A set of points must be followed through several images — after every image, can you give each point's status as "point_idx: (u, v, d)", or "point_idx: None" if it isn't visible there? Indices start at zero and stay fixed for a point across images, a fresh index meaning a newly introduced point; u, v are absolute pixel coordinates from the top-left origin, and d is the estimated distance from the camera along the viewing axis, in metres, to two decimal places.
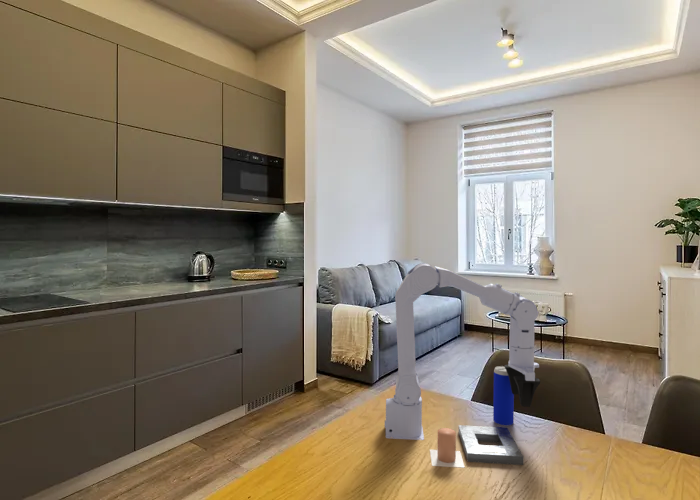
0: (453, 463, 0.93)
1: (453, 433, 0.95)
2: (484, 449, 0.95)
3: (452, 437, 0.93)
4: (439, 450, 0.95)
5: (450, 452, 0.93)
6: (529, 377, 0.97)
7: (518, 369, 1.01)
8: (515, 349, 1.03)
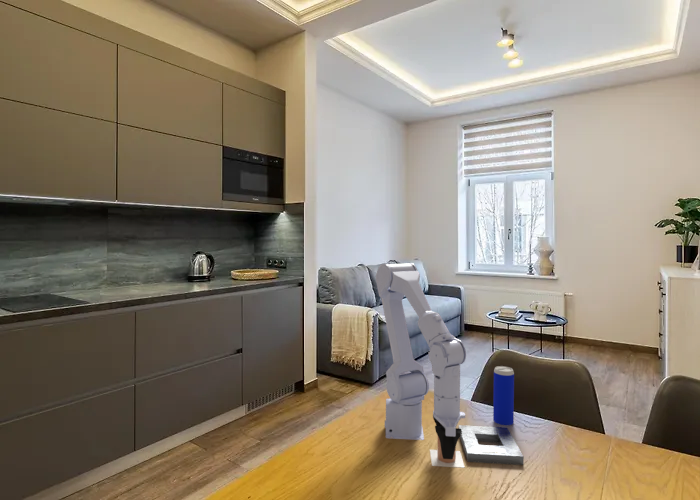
0: (453, 463, 0.93)
1: None
2: (484, 449, 0.95)
3: None
4: (439, 450, 0.95)
5: None
6: (449, 432, 0.88)
7: (440, 421, 0.91)
8: (438, 398, 0.93)
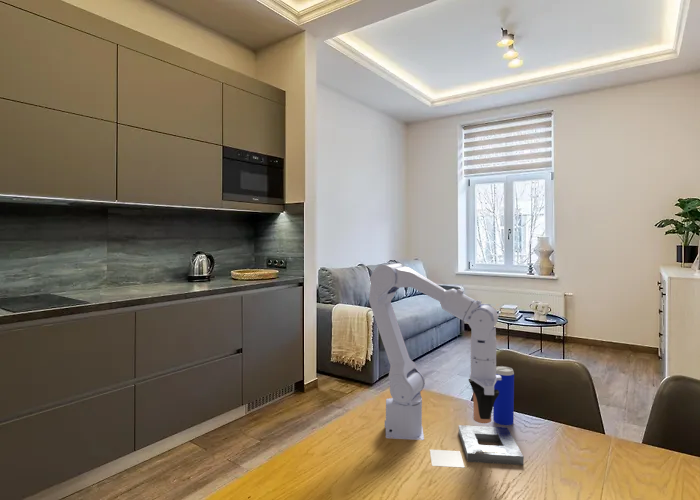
0: (453, 463, 0.93)
1: None
2: (484, 449, 0.95)
3: None
4: (476, 412, 0.98)
5: None
6: (488, 391, 0.92)
7: (478, 382, 0.95)
8: (476, 361, 0.97)
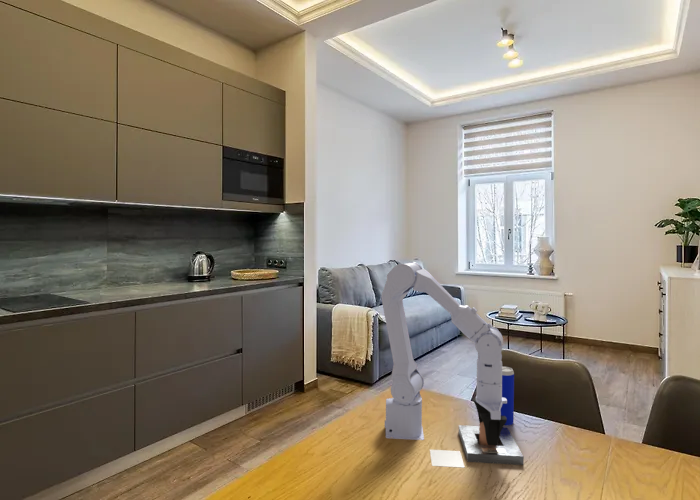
0: (453, 463, 0.93)
1: None
2: (484, 449, 0.95)
3: None
4: (482, 443, 0.99)
5: None
6: (495, 416, 0.93)
7: (484, 406, 0.96)
8: (482, 384, 0.98)
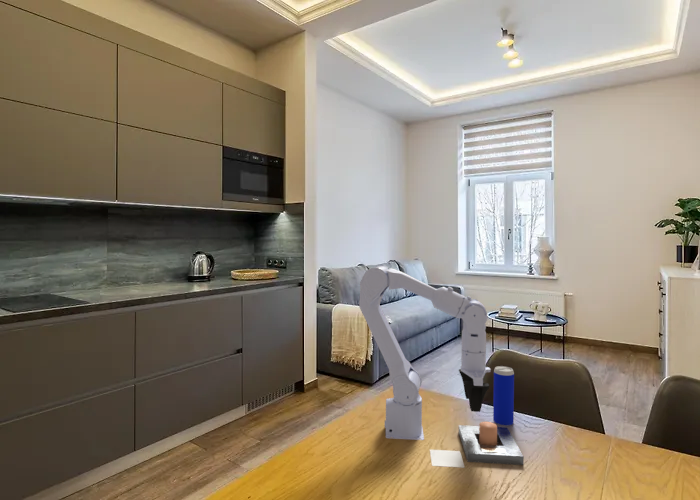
0: (453, 463, 0.93)
1: (495, 426, 0.99)
2: (484, 449, 0.95)
3: (495, 430, 0.98)
4: (482, 442, 0.99)
5: (493, 444, 0.98)
6: (477, 382, 0.96)
7: (468, 374, 1.00)
8: (466, 353, 1.02)
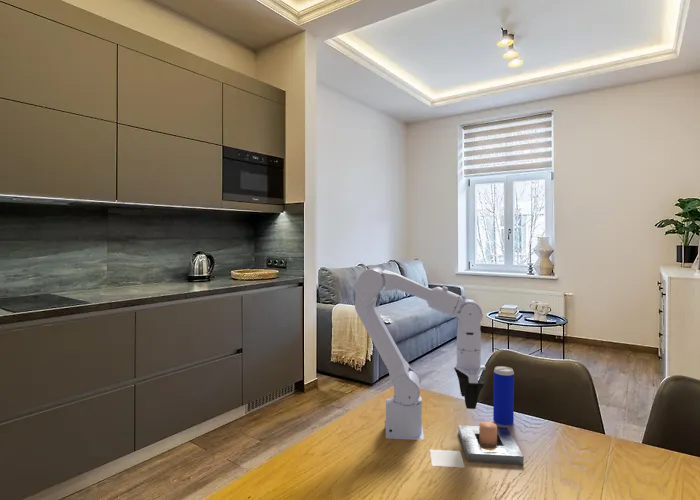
0: (453, 463, 0.93)
1: (495, 426, 0.99)
2: (484, 449, 0.95)
3: (495, 430, 0.98)
4: (482, 443, 0.99)
5: (493, 444, 0.98)
6: (472, 379, 0.98)
7: (463, 371, 1.01)
8: (461, 351, 1.03)
